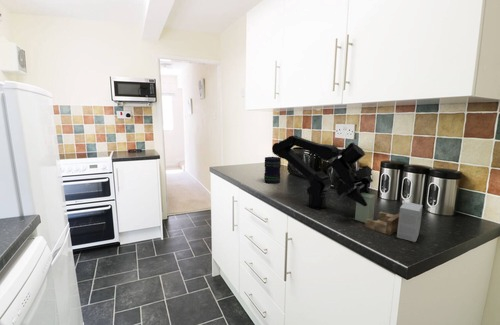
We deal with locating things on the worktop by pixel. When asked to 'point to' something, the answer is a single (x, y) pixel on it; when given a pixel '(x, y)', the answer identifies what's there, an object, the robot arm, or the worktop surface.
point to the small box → (409, 221)
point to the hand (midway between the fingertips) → (369, 204)
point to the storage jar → (272, 170)
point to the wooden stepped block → (384, 223)
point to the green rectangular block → (365, 208)
